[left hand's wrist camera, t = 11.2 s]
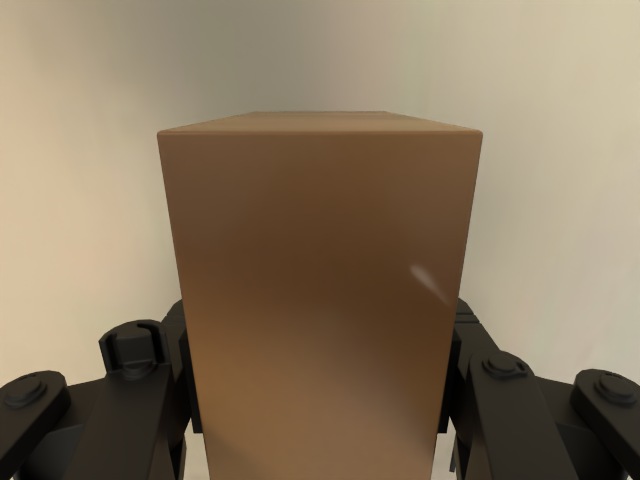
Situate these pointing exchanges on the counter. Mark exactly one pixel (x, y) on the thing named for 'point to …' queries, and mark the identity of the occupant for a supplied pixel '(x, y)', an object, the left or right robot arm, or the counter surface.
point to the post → (320, 286)
